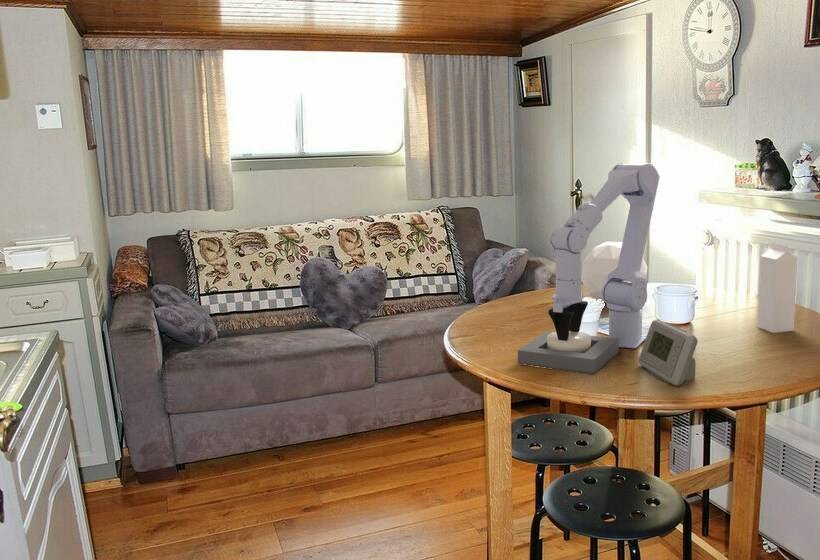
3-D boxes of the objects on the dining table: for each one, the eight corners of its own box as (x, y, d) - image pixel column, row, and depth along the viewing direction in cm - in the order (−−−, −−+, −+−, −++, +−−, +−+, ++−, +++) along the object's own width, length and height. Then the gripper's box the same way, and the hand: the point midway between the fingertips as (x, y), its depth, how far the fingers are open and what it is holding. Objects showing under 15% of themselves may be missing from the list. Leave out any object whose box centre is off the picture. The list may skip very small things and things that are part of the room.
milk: (772, 333, 182) (776, 246, 178) (756, 327, 188) (760, 243, 183) (794, 330, 183) (798, 244, 179) (777, 325, 189) (781, 241, 185)
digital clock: (636, 364, 163) (636, 318, 161) (676, 363, 163) (677, 317, 161) (658, 388, 147) (659, 338, 145) (703, 387, 147) (705, 336, 145)
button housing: (547, 344, 182) (546, 331, 181) (618, 352, 172) (618, 338, 172) (517, 364, 167) (517, 350, 166) (594, 374, 157) (594, 359, 157)
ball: (630, 326, 220) (657, 282, 206) (567, 304, 222) (590, 258, 207) (634, 285, 233) (661, 241, 219) (575, 265, 235) (597, 219, 221)
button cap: (556, 341, 176) (556, 329, 175) (596, 346, 171) (596, 333, 170) (540, 353, 168) (540, 339, 167) (582, 358, 162) (582, 344, 162)
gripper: (562, 272, 174) (563, 326, 177) (539, 283, 162) (540, 341, 165) (591, 273, 170) (591, 329, 173) (570, 285, 158) (570, 345, 161)
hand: (568, 335), depth 168 cm, fingers open, 7 cm apart
